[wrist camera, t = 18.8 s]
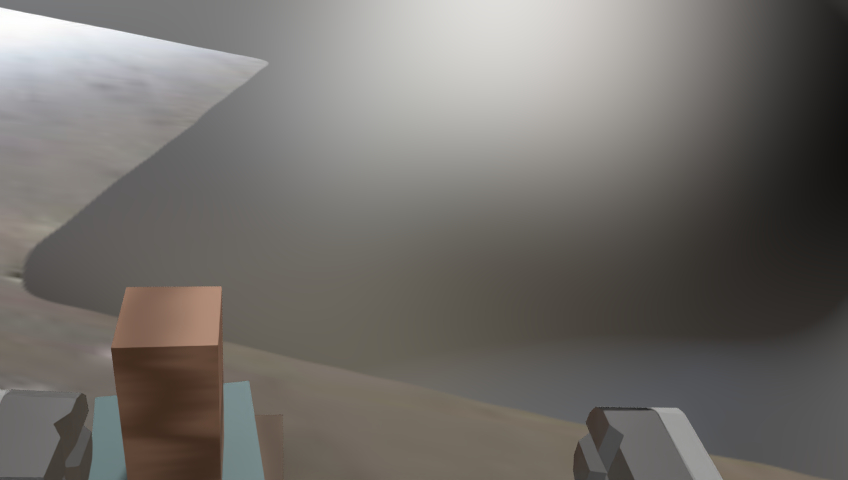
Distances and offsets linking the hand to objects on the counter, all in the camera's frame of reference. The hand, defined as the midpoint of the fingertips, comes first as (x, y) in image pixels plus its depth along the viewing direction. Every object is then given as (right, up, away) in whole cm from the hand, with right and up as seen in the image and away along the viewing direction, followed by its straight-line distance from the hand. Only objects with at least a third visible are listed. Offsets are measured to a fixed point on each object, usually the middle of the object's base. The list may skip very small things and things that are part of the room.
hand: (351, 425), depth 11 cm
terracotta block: (-14, -11, +31) cm, 36 cm away
